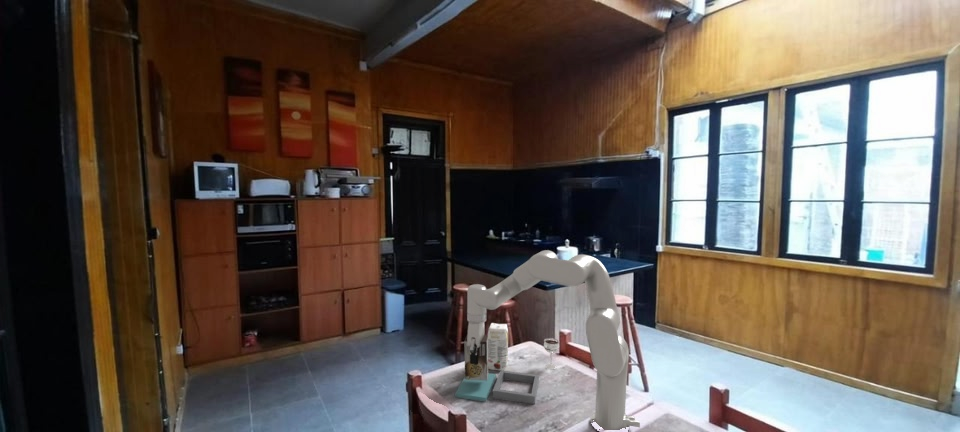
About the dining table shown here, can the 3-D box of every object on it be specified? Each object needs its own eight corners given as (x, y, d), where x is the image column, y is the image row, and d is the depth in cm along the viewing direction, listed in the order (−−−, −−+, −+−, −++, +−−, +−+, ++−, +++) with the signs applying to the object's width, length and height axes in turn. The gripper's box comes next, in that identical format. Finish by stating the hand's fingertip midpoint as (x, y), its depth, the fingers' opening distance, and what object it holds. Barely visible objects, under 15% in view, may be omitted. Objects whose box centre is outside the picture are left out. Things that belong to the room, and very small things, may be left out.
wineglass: (560, 371, 167) (560, 344, 166) (544, 370, 167) (545, 344, 166) (557, 363, 174) (557, 338, 173) (542, 363, 174) (542, 337, 173)
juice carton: (506, 372, 166) (506, 329, 164) (486, 370, 168) (486, 328, 166) (508, 364, 173) (508, 323, 171) (489, 362, 175) (489, 321, 173)
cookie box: (488, 372, 156) (488, 334, 155) (487, 381, 150) (487, 341, 149) (466, 371, 157) (466, 333, 156) (464, 379, 151) (464, 340, 149)
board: (495, 377, 161) (495, 374, 161) (485, 401, 144) (485, 397, 144) (468, 373, 164) (468, 370, 164) (455, 397, 147) (455, 393, 147)
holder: (538, 382, 158) (539, 375, 158) (534, 404, 143) (534, 396, 142) (500, 376, 162) (500, 370, 162) (492, 397, 146) (492, 390, 146)
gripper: (473, 308, 161) (473, 348, 162) (461, 323, 144) (461, 368, 146) (490, 309, 159) (490, 350, 161) (480, 325, 142) (480, 371, 144)
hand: (476, 359), depth 153 cm, fingers closed on cookie box, 7 cm apart
